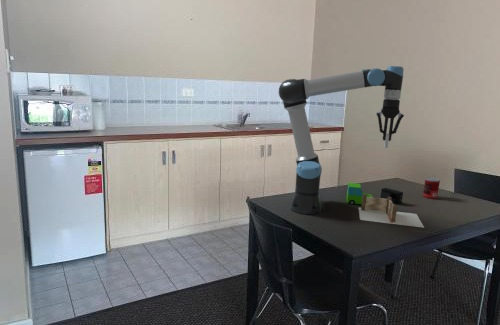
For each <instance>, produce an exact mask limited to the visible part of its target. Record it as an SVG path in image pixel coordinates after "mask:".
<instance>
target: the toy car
mask: <svg viewBox="0 0 500 325" xmlns="http://www.w3.org/2000/svg"><path fill="white" fill-rule="evenodd" d="M346 191H347V192H346V203H348V204H349V205H362V196H363V194H366V197H373V194H369V193H365V192H363V190H362V188H361V183H354V182H347V190H346ZM365 204H366V203H365Z"/></svg>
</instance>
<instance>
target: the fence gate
mask: <svg viewBox="0 0 500 325" xmlns="http://www.w3.org/2000/svg"><path fill="white" fill-rule="evenodd" d="M397 210H398V206H396V205H395V204H394V203H392V201H391V200H389V205H388V214H389V216H390V217H391V221H392V222H395V220H396V212H398V211H397Z"/></svg>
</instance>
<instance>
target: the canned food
mask: <svg viewBox="0 0 500 325" xmlns="http://www.w3.org/2000/svg"><path fill="white" fill-rule="evenodd" d="M440 181H441V180H440V179H439V178H437V177H430V176H428V177H425V179H424V185H423V191H422V192H423V193H422V196H423V198H426V199H430V200H436V199H438V195H439V190H440V183H441V182H440Z"/></svg>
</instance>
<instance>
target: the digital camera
mask: <svg viewBox="0 0 500 325" xmlns="http://www.w3.org/2000/svg"><path fill="white" fill-rule="evenodd" d="M403 196H404V192H403V191H400V190H396V189H392V188H388V187H382V189H381V192H380V198H384V199H388V197H392V200H391V201H392V203H393V204H394V205H401V204H402V203H403Z"/></svg>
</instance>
